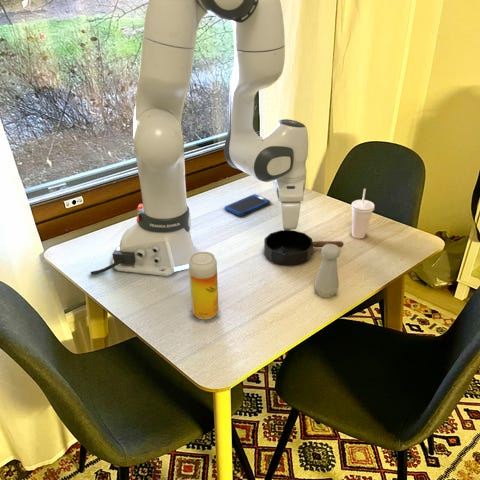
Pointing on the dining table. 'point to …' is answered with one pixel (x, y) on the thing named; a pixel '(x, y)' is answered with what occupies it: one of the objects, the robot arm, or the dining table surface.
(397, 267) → the dining table surface
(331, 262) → the salt shaker
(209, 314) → the glass of yellow beer
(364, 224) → the smoothie
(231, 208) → the cell phone
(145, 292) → the dining table surface
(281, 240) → the pan
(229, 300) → the dining table surface
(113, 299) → the dining table surface
